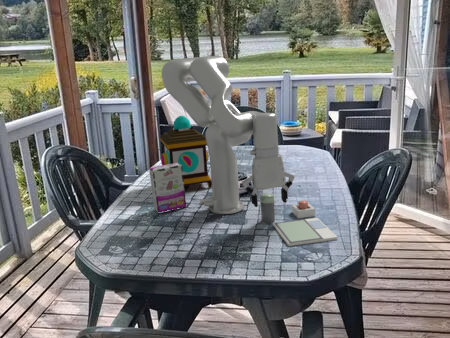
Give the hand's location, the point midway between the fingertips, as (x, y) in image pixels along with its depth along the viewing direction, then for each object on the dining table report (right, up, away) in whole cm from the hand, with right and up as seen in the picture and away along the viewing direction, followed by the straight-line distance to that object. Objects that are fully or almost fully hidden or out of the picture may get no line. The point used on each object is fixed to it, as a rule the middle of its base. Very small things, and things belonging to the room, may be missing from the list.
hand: (269, 203), depth 144 cm
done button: (+12, -3, +6) cm, 14 cm away
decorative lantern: (-31, +4, +44) cm, 54 cm away
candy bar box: (-35, -4, +18) cm, 40 cm away
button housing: (+12, -4, +6) cm, 14 cm away
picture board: (+10, -8, -8) cm, 15 cm away
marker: (0, -6, +2) cm, 7 cm away
